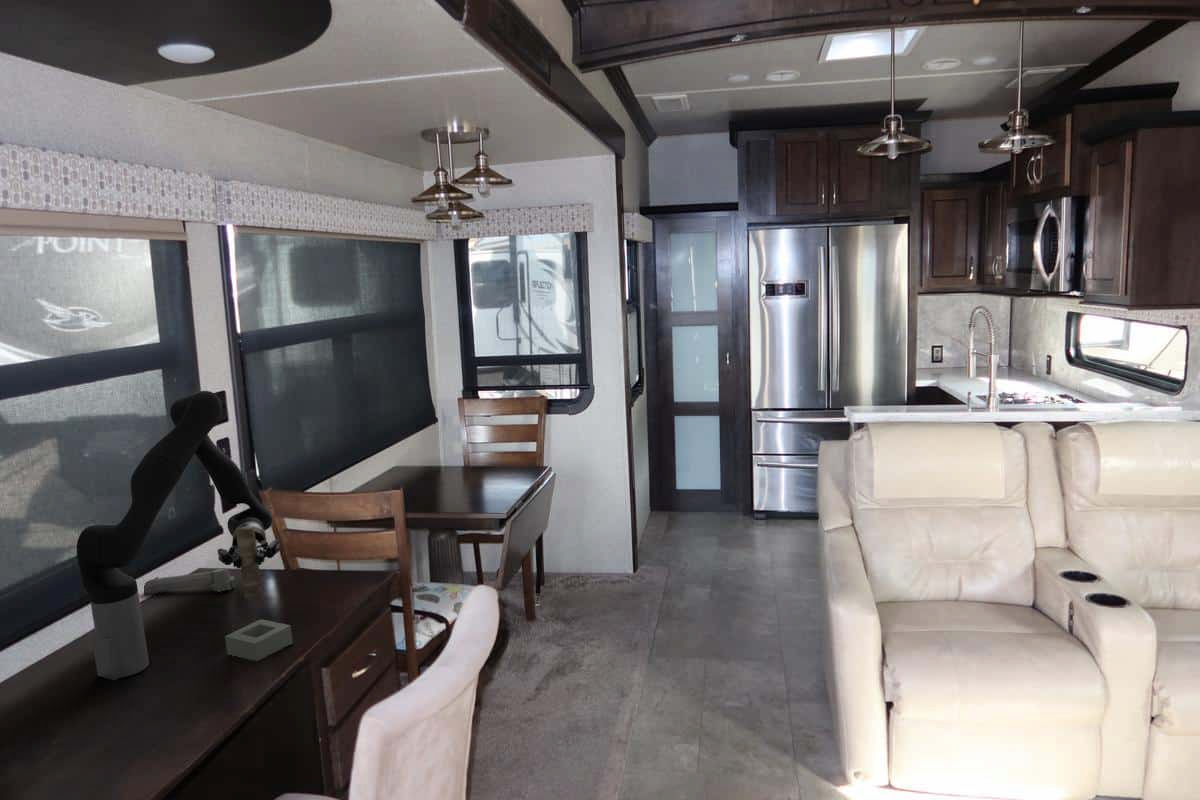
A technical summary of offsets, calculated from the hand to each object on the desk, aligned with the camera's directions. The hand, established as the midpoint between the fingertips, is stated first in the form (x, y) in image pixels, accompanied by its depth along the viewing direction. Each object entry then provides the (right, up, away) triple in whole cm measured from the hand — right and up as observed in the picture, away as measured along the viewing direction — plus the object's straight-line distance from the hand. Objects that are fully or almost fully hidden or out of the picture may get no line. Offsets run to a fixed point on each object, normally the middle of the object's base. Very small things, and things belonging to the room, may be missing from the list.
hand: (248, 562), depth 191 cm
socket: (0, -21, +6) cm, 22 cm away
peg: (-1, -9, +4) cm, 9 cm away
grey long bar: (-35, -17, +46) cm, 60 cm away
